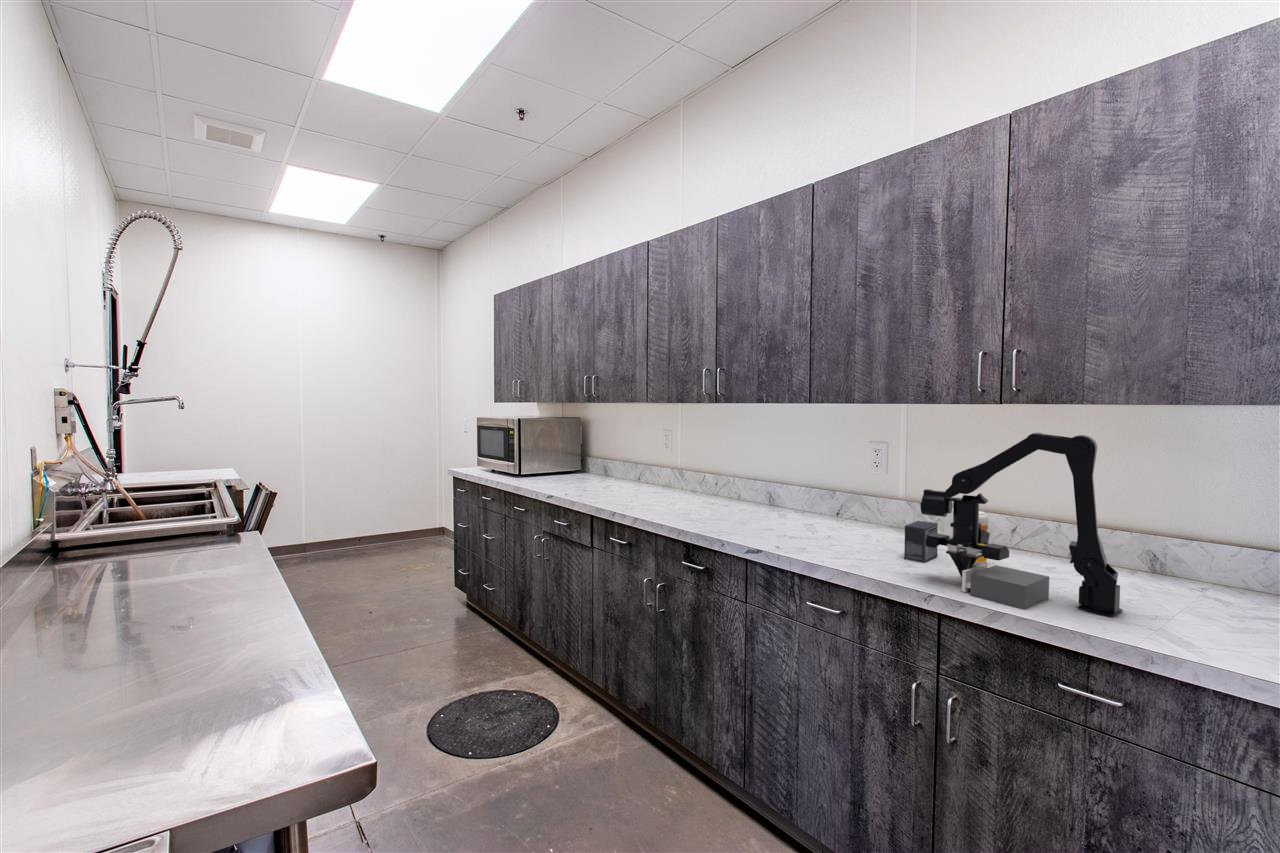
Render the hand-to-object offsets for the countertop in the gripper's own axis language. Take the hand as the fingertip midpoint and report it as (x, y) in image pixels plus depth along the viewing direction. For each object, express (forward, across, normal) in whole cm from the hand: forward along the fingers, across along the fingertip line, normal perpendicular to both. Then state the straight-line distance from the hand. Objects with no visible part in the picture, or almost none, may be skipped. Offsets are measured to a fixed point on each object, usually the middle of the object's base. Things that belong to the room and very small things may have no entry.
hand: (964, 579), depth 151 cm
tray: (+2, -8, 0) cm, 8 cm away
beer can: (+2, +9, -25) cm, 27 cm away
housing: (+2, -11, 0) cm, 11 cm away
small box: (+2, +21, -17) cm, 27 cm away
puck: (+2, +1, -10) cm, 10 cm away
